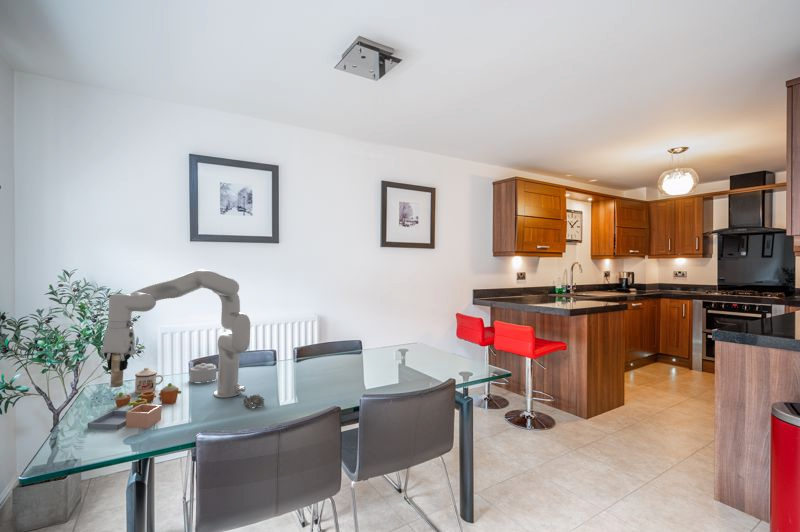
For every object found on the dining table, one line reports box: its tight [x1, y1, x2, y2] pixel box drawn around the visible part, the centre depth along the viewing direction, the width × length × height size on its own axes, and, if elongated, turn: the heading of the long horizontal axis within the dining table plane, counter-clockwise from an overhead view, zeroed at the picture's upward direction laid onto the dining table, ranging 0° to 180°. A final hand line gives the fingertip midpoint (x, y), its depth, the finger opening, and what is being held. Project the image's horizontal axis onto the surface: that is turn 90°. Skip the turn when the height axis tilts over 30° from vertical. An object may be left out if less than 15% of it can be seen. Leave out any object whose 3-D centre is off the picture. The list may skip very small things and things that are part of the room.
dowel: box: [109, 353, 124, 388], centre depth 152 cm, size 4×4×13 cm
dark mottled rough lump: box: [242, 393, 266, 409], centre depth 179 cm, size 11×8×4 cm
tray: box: [87, 409, 129, 431], centre depth 152 cm, size 12×13×3 cm
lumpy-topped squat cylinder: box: [189, 362, 218, 383], centre depth 210 cm, size 10×13×9 cm
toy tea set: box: [113, 382, 182, 409], centre depth 174 cm, size 26×16×10 cm, turn 135°
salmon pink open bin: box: [125, 403, 163, 429], centre depth 152 cm, size 9×9×7 cm
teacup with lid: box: [134, 367, 164, 394], centre depth 191 cm, size 12×9×12 cm
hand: (117, 369), depth 152 cm, fingers closed on dowel, 4 cm apart
